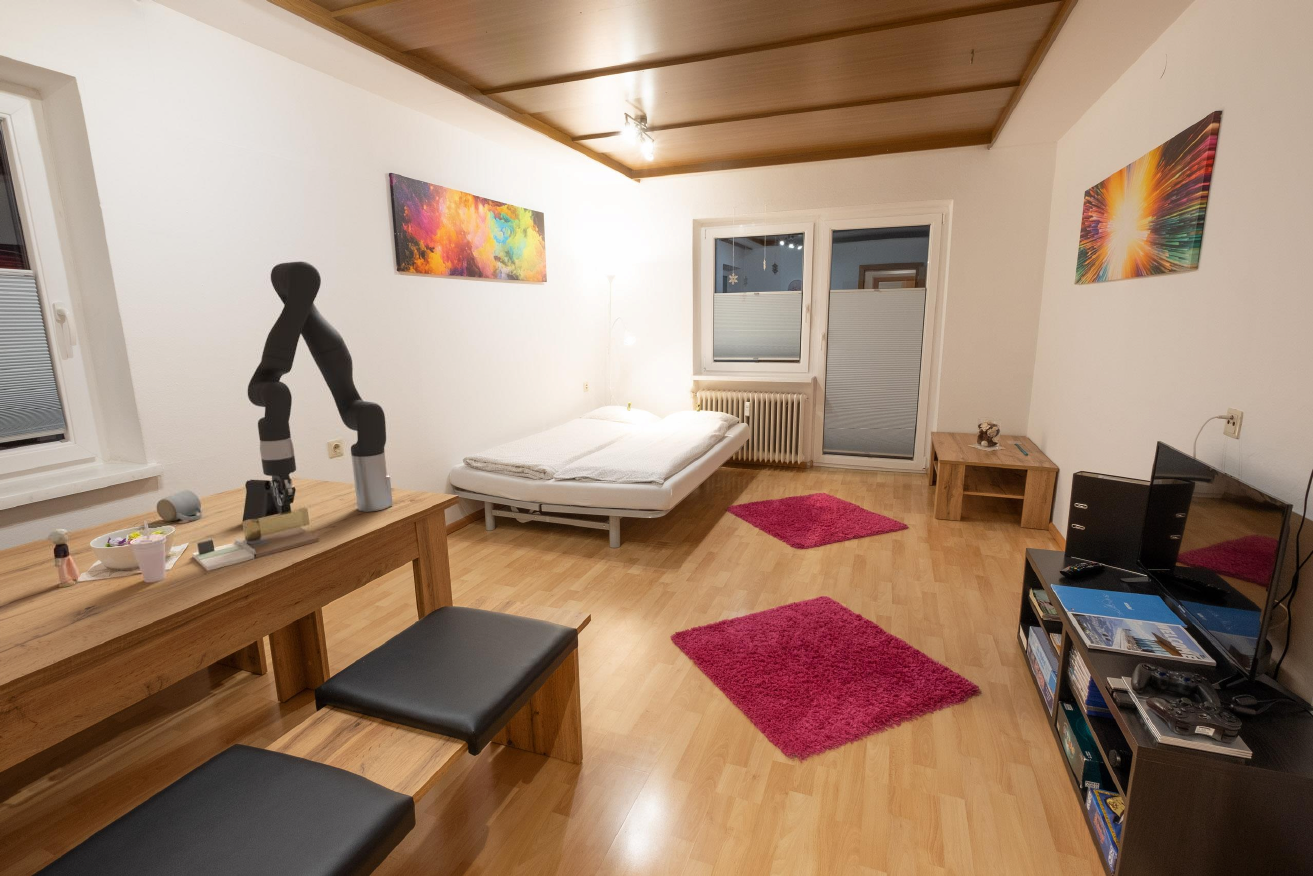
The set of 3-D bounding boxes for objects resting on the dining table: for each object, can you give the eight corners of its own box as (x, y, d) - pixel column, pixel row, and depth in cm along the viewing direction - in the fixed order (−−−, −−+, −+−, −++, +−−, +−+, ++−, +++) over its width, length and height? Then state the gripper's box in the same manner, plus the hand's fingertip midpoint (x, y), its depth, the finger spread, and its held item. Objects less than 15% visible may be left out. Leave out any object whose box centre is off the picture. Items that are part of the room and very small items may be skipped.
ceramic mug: (156, 521, 176) (151, 496, 174) (183, 512, 184) (179, 488, 182) (185, 525, 174) (181, 499, 172) (211, 515, 181) (207, 491, 180)
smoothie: (143, 587, 133) (131, 527, 130) (132, 581, 136) (120, 522, 134) (178, 576, 138) (167, 519, 136) (166, 570, 142) (155, 514, 139)
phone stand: (260, 525, 172) (254, 485, 170) (242, 524, 173) (235, 484, 171) (284, 515, 181) (279, 476, 178) (266, 514, 182) (261, 475, 179)
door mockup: (300, 530, 168) (298, 517, 167) (318, 541, 160) (317, 527, 159) (192, 556, 150) (190, 542, 149) (207, 570, 142) (205, 555, 141)
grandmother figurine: (81, 584, 135) (69, 531, 132) (57, 590, 132) (44, 535, 130) (80, 574, 140) (69, 522, 138) (57, 579, 138) (45, 527, 135)
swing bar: (247, 541, 153) (244, 524, 152) (242, 538, 155) (240, 521, 154) (310, 526, 164) (308, 509, 163) (305, 523, 166) (303, 506, 165)
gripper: (302, 456, 158) (310, 519, 162) (284, 449, 167) (292, 509, 170) (270, 461, 153) (279, 526, 156) (253, 454, 161) (262, 516, 165)
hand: (286, 517), depth 163 cm, fingers closed
